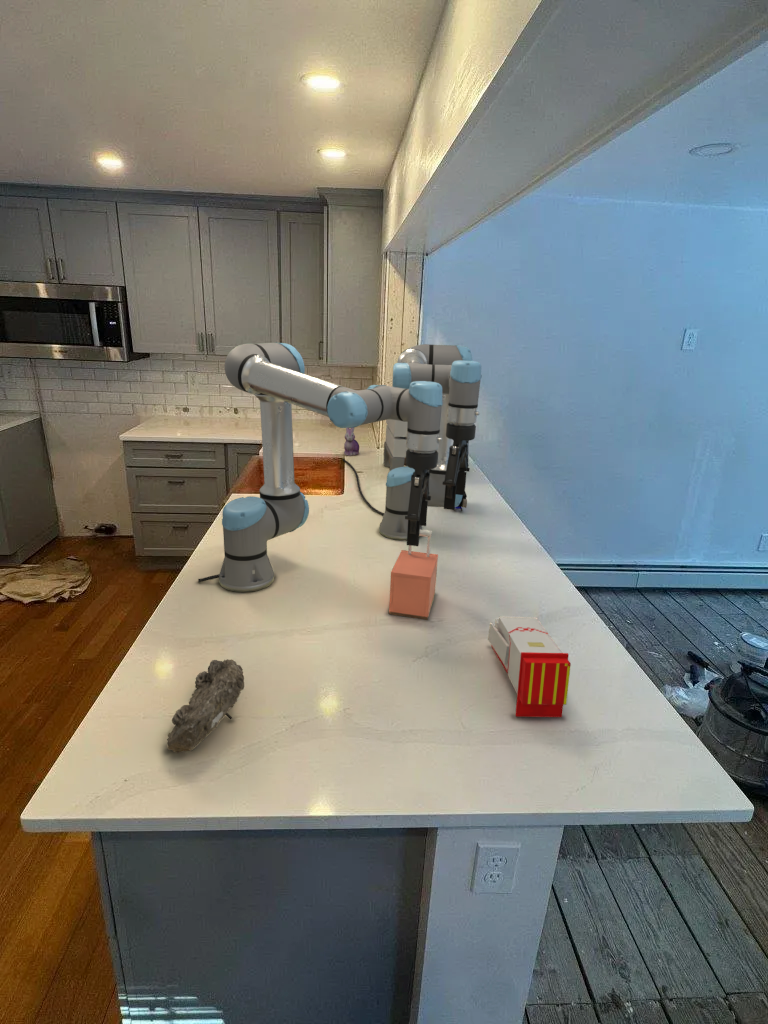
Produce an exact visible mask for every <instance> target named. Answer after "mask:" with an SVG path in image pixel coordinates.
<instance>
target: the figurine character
mask: <svg viewBox="0 0 768 1024" xmlns="http://www.w3.org/2000/svg"><path fill="white" fill-rule="evenodd" d="M467 495H468V494H467V493H466V491H465V494H464V495H463V496H462V500H461V502H460V504H459V505H458V506H457V507H455V509H454V510H453V512H456V510H458V509H459V510H460V512H463V509H464V508H465V509H466V508H467V506H468V499H467V497H468V496H467Z"/></svg>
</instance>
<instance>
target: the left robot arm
mask: <svg viewBox="0 0 768 1024" xmlns="http://www.w3.org/2000/svg"><path fill="white" fill-rule="evenodd" d="M305 371H306V369H305V362H304V358H303V357H302V355H301V353H300V352H299V351H298V350H297V348H296V347H294V346H293V345H291V344H289V343H285V342H277V341H276V342H261V343H260V342H258V343H242V344H239V345H237V346H235V347H233V348H232V349H231V350H230V351H229V352H228V353H227V355H226V358H225V361H224V374H225V376H226V378H227V380H228V381H229V383H230V384H231V385H232V386H233V387H235V388H236V389H238V390H240V391H243V392H245V393H248V394H251V395H254V397H256V398H257V399H258V400H259V410H260V427H261V446H262V463H263V464H262V465H263V477H264V478H263V481H264V482H263V483H264V484H263V485H262V486H261V487H260V488H259V496H246V497H244V496H242V497H237V498H235V499H232V500H230V501H229V502H228V503H226V504H225V505H224V507H223V508H222V519H221V525H222V534H223V535H222V536H223V550H224V551H223V553H224V556H223V559H222V564H221V567H220V570H219V573H218V574H213V575H209V576H205V577H201V578H197V582H198V583H204V582H207V581H211V580H215V579H218V583H219V585H220V586H221V587H222V588H223V589H225V590H227V591H230V592H236V593H250V592H251V593H252V592H257V591H260V590H263V589H266V588H267V587H269V586H271V585H272V584H273V583H274V581H275V571H274V568H273V566H272V563H271V561H270V558H269V555H268V541H269V540H272V539H275V538H277V537H280V536H283V535H285V534H288V533H292V532H295V531H296V530H298V529H300V528H301V527H303V526H304V525H305V524H306V522H307V520H308V517H309V513H310V505H309V501H308V499H306V495H305V494H304V493H303V492H302V491H301V487H300V486H299V485H297V484H296V482H295V460H294V459H295V457H294V435H293V434H294V433H293V431H294V430H293V408H292V407H293V406H292V405H294V406H296V407H299V408H302V409H305V410H307V411H310V412H313V413H316V414H319V415H321V416H325V417H327V418H328V419H329V421H330V422H332V424H333V426H335V427H337V428H340V429H346V428H349V429H351V428H354V429H355V428H357V427H359V426H365V425H368V424H372V423H377V422H383V421H386V420H387V419H391V420H399V421H404V422H407V440H406V447H407V448H408V450H407V451H406V462H405V463H406V465H405V467H406V466H408V467H409V468H413V469H414V470H415V472H413V475H412V476H411V491H410V499H409V507H408V515H407V516H405V519H406V520H408V531H407V540H406V546H409V545H410V546H411V547H419V546H420V537H419V532H420V526H422V527H426V526H427V520H428V507H429V506H428V501H426V500H431V496H429V478H430V473H429V470H430V469H434V468H436V467H437V465H438V452H437V451H436V450H438V448H439V441H442V437H438V436H439V433H440V420H441V409H442V405H443V402H442V386H441V385H440V384H439V383H437V382H430V381H428V382H427V381H414V382H412V383H411V384H410V387H409V389H404V388H397V387H392V386H390V385H386V384H371V385H369V386H367V388H365V389H352V388H349V387H347V386H343V385H341V384H338V383H335V382H332V381H329V380H325V379H322V378H319V377H316V376H312V375H309V374H306V373H305ZM411 514H415V515H411Z"/></svg>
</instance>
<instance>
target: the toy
mask: <svg viewBox="0 0 768 1024" xmlns="http://www.w3.org/2000/svg"><path fill="white" fill-rule="evenodd" d="M488 625H489V627H488V633H487V641H488V642H489V644H490V646H491V647H490V648H491V649H492V650H493V652H494V654H495V656H496V658H497V659H498V660H499V662H500V664H501V666H502V668H503V669H504V671H505V673H506V674H507V676H508V678H509V680H510V682H511V685H512V686H513V689H514V690H515V693H516V704H515V717H516V718H517V717H518V718H519V717H520V718H521V717H522V718H563V710H564V705H567V701H568V692H569V685H570V684H569V683H570V676H571V675H570V674H571V666H572V664H571V661H570V660H569V655H570V654H569V653H568V652H563V651H562V649H561V648H560V647H559V646H558V644H557V643H556V642H555V640H554V639H553V638H552V636H551V635H550V634H549V632H548V631H547V629H546V628H545V627H544V626H543V624H542V622H541V621H540V620H539V619H538V618H537V616H498V618H496V619H494V623H493V622H489V624H488Z"/></svg>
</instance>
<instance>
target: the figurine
mask: <svg viewBox="0 0 768 1024" xmlns="http://www.w3.org/2000/svg"><path fill="white" fill-rule="evenodd" d="M354 431H355V427H354V428H345V434H344V440H345V442H344V443H343V444H344V445H343V448H344V451H343V454H344V456H356V455H359V453H360V444H359V442H358V441H357V440H356V435H355V433H354Z"/></svg>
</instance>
